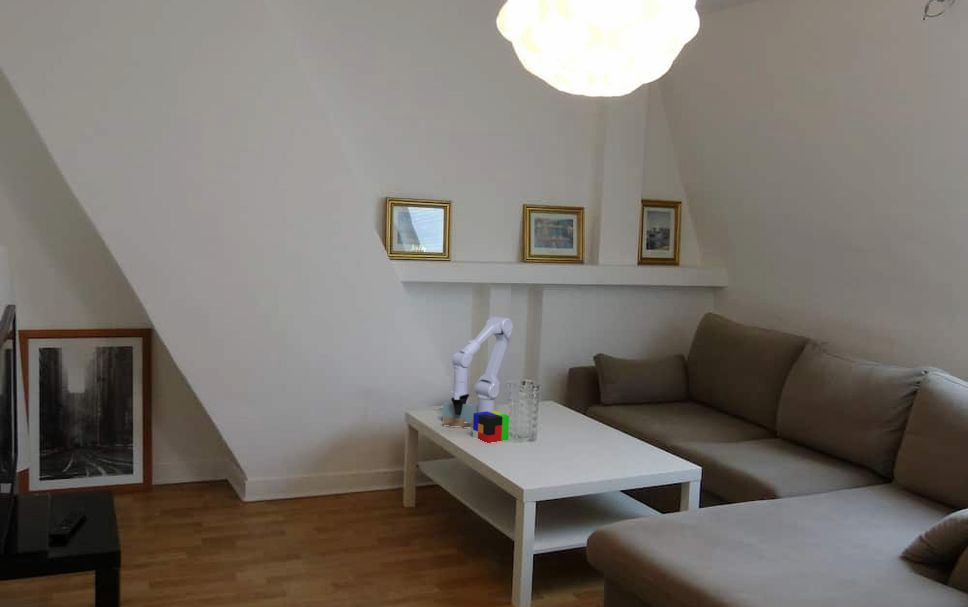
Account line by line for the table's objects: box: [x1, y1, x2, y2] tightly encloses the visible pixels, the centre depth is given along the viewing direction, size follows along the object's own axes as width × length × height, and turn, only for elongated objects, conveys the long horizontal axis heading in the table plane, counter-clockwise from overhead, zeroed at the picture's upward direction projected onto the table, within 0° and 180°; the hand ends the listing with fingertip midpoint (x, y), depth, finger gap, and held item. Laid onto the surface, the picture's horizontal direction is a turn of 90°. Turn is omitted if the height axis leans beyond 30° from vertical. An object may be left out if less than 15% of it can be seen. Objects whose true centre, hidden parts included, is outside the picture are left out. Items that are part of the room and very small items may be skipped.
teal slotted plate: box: [442, 402, 478, 423], centre depth 383 cm, size 14×2×8 cm, turn 80°
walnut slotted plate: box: [443, 417, 473, 428], centre depth 376 cm, size 20×2×4 cm, turn 80°
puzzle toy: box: [472, 410, 510, 444], centre depth 360 cm, size 10×10×10 cm
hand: (459, 413), depth 383 cm, fingers open, 6 cm apart
